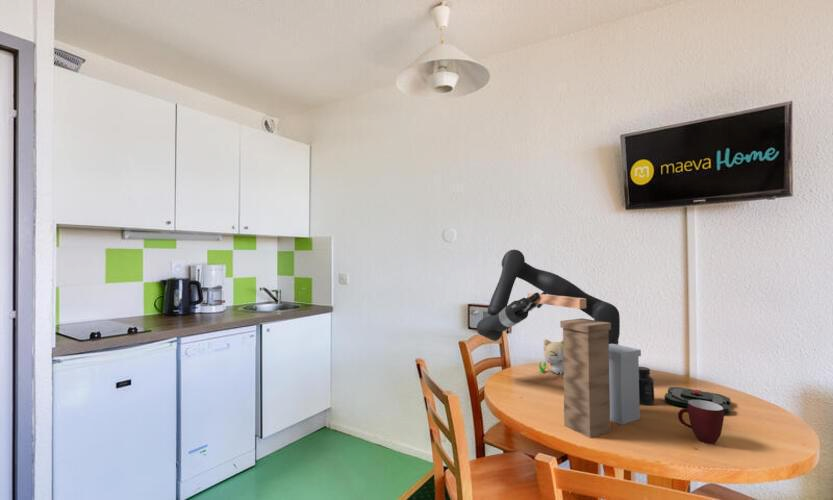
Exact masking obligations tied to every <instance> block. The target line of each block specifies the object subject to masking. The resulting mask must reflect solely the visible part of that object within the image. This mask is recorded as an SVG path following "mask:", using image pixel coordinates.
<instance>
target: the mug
mask: <svg viewBox="0 0 833 500" xmlns="http://www.w3.org/2000/svg"><path fill="white" fill-rule="evenodd" d="M685 413H686V414H687V415H688V419H689V423H687V422H685V420H684V419H683V414H685ZM677 418H678V421H679V422H680V424H682V425H683V426H685V427H687V428H689V429H691V430H692V433H693V434H694V436H695V438H696V439H697V440H698V441H699V442H700V441H701V443H703V442H704V443H703V444H706V443H707V444H706V445H715V444H716V443H717V442H718V440H719V439H720V438H721V434H722V430H723V425H724V420H725V413H724V409H723V407H722V406H721V405H719V404H716V403H713V402H709V401H704V400H689V401H688V407H687V408H681V409H680V410H679V411H678V414H677Z"/></svg>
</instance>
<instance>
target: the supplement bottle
mask: <svg viewBox="0 0 833 500" xmlns="http://www.w3.org/2000/svg"><path fill="white" fill-rule="evenodd" d="M654 383H655V382H654V378H653V377H652V376H651V368H649V367H647V366H639V405H644V406H651V405H654V404H655V390H654V389H655V384H654Z"/></svg>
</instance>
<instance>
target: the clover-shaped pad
mask: <svg viewBox="0 0 833 500" xmlns="http://www.w3.org/2000/svg"><path fill="white" fill-rule="evenodd" d="M663 399H664V401H665V402H668V403H670V404H672V405H676V406H680V407H686V408H688V401H689V400H704V401H709V402H713V403H716V404H719V405H721V406H722V407H723V409H724V414H729V413H730V411H731V410H730V407H731V398H730V397H728V396H725V395H723V394H721V393H716V392H715V393H714V392H709V391H703V390H701V389H692V388H688V387H687V388H686V387H683V386H682V387H681V386H670V387H668V389H667V392H666V393H665V395H664V398H663Z"/></svg>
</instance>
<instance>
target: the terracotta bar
mask: <svg viewBox="0 0 833 500" xmlns="http://www.w3.org/2000/svg"><path fill="white" fill-rule="evenodd" d="M535 293H536V292H532V293H529V292H528V293H527V297H530V296H532V295H533V294H535ZM539 295H540V298H539V299H538V300H536V301H535V302H533V303H540V304H543V305H548V306H556V307H563V308H570V309H576V310H577V309H578V310H580V309H584V308H586V298H576V297H566V296H557V295H549V294H541V293H539Z"/></svg>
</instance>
